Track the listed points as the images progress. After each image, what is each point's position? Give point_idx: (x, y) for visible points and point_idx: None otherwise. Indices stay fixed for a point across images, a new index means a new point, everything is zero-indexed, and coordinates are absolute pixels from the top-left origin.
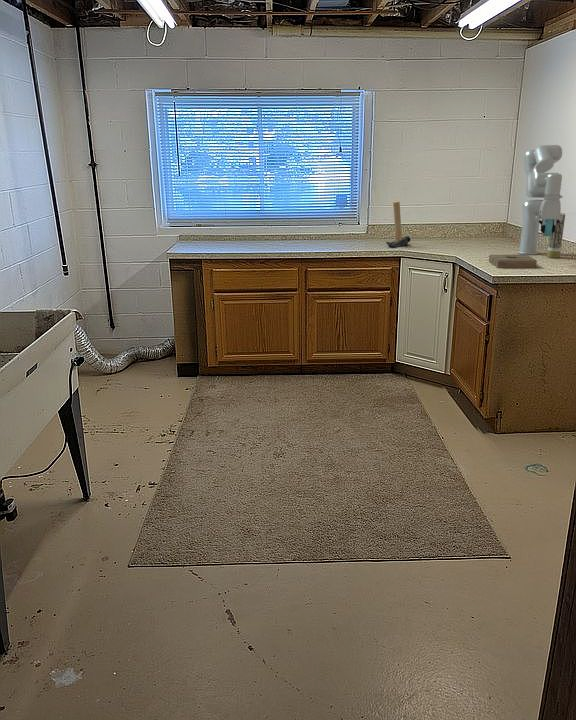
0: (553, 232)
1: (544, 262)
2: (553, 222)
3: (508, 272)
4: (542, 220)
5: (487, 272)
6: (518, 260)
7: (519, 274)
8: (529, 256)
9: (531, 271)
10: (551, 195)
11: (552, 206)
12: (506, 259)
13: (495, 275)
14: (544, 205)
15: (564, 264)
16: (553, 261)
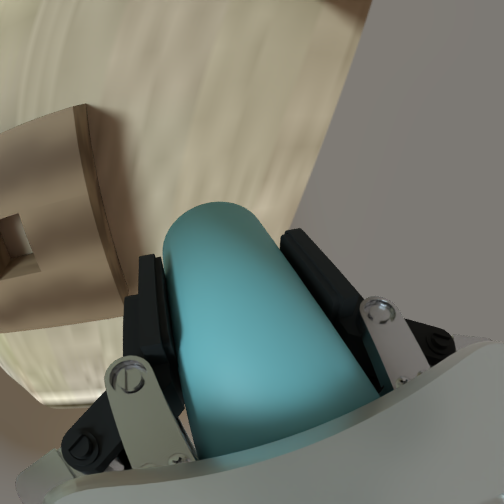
0: None
1: (199, 114)
2: (378, 345)
3: (53, 371)
4: (150, 457)
5: (8, 373)
6: (51, 326)
7: (88, 387)
8: (87, 195)
9: (115, 352)
10: None
11: None
12: (3, 312)
13: (40, 398)
14: None
15: (288, 173)
16: (264, 76)
